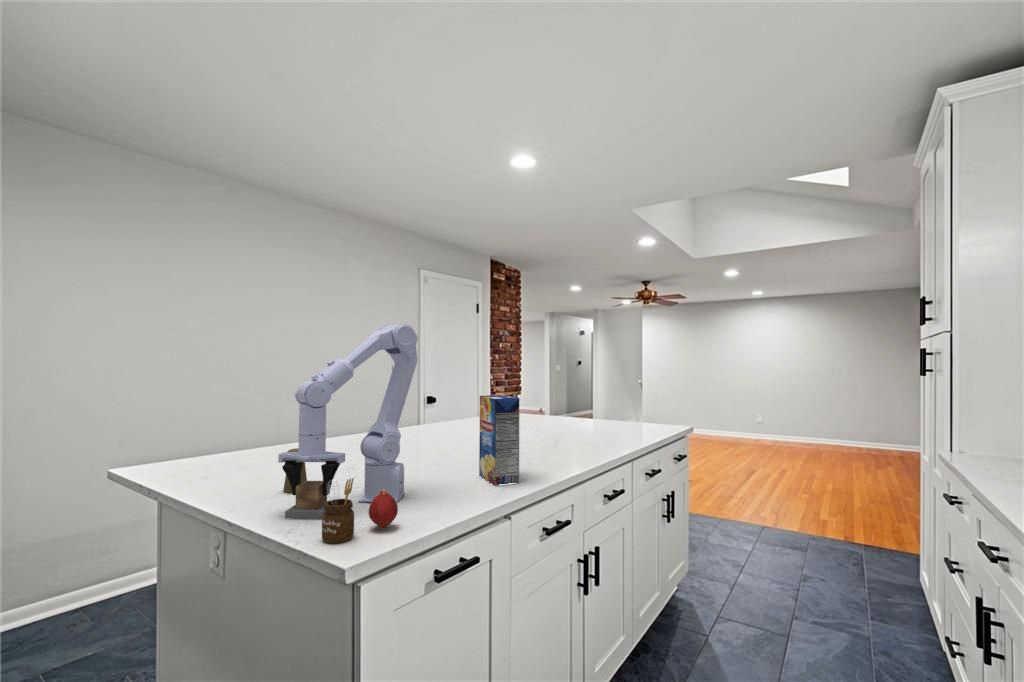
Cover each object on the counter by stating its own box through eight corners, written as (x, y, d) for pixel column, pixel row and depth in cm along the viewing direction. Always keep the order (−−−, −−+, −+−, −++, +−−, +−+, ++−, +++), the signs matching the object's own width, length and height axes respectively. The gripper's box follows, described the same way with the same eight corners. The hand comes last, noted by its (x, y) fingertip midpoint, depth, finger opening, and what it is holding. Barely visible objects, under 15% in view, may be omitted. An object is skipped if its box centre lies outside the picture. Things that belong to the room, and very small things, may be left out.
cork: (298, 494, 124) (299, 451, 124) (277, 493, 125) (278, 450, 125) (312, 488, 130) (313, 447, 130) (292, 487, 131) (293, 446, 131)
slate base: (335, 507, 113) (335, 500, 113) (321, 519, 105) (321, 511, 105) (301, 507, 113) (301, 500, 113) (284, 518, 105) (284, 511, 105)
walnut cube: (327, 502, 112) (327, 480, 112) (317, 509, 107) (318, 486, 107) (305, 502, 112) (306, 480, 112) (295, 509, 107) (295, 486, 107)
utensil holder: (339, 531, 98) (340, 471, 98) (361, 537, 95) (362, 475, 95) (314, 540, 93) (315, 477, 93) (337, 547, 90) (338, 482, 90)
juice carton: (479, 476, 143) (479, 395, 144) (502, 474, 146) (502, 394, 147) (494, 486, 132) (495, 398, 133) (519, 483, 135) (519, 398, 136)
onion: (371, 523, 102) (372, 485, 103) (399, 523, 103) (399, 485, 103) (365, 533, 97) (366, 493, 97) (395, 532, 97) (395, 492, 97)
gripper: (271, 436, 106) (270, 499, 105) (337, 437, 106) (336, 499, 105) (287, 431, 113) (286, 490, 112) (348, 432, 113) (347, 490, 112)
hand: (311, 494), depth 109 cm, fingers open, 6 cm apart
